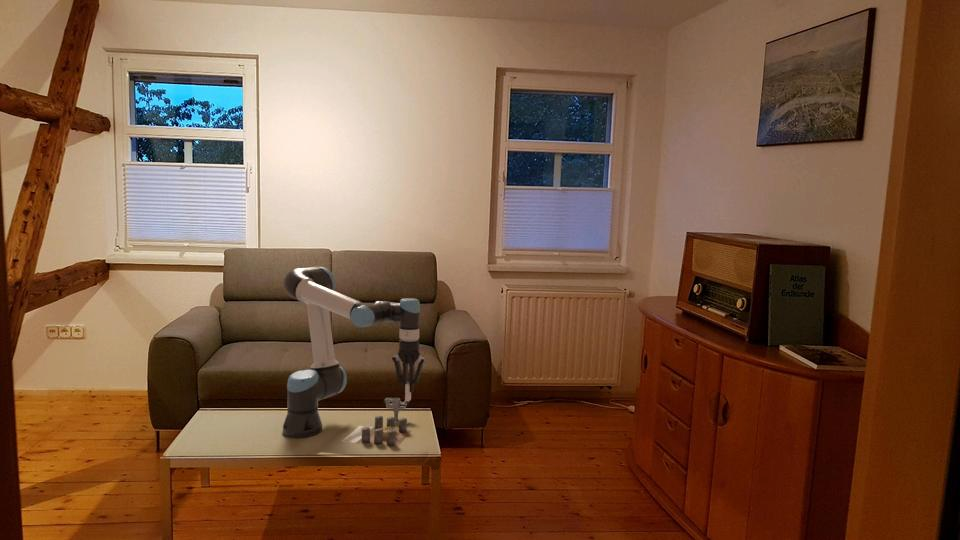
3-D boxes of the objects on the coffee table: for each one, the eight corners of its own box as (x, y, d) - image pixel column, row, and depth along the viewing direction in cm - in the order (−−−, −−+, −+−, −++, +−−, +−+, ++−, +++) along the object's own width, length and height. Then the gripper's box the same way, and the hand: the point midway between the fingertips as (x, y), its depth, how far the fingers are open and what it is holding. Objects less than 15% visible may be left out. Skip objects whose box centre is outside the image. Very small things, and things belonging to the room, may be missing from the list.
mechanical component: (407, 423, 254) (408, 400, 253) (383, 422, 254) (383, 399, 253) (408, 421, 257) (409, 398, 256) (384, 420, 257) (384, 397, 256)
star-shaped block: (375, 439, 233) (375, 431, 233) (381, 432, 239) (382, 425, 239) (392, 440, 232) (392, 433, 231) (398, 434, 238) (398, 427, 238)
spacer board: (341, 443, 230) (341, 428, 229) (359, 427, 247) (359, 413, 247) (397, 449, 226) (397, 434, 225) (411, 433, 243) (411, 418, 243)
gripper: (389, 340, 228) (388, 401, 230) (423, 342, 226) (421, 404, 228) (395, 336, 236) (394, 396, 238) (428, 338, 233) (427, 398, 235)
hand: (408, 400), depth 233 cm, fingers closed
